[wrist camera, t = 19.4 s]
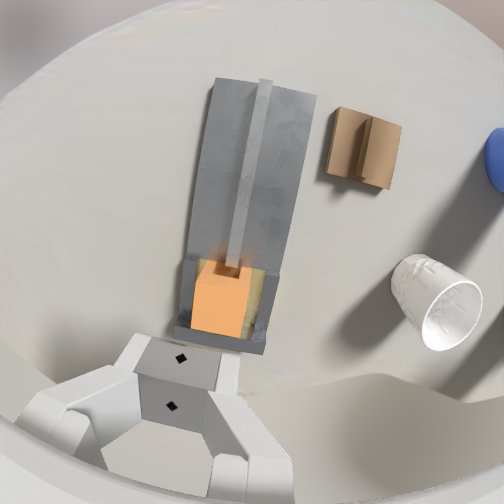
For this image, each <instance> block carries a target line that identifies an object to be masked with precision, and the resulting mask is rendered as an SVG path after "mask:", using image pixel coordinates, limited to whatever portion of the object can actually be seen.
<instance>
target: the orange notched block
mask: <svg viewBox="0 0 504 504" xmlns="http://www.w3.org/2000/svg"><path fill="white" fill-rule="evenodd" d="M216 265H217V263H214V262H209V261H206V263H205V265H204V267H203V269H202V271H201V273H200V275H199V277H198V279H197V281H196V285H195V293H194V302H193V311H192V320H191V329H196V330H201V331H206V332H211V333H216V334H221V335H226V336H231V337H237V338H240V334H241V330H242V325H243V320H244V315H245V310H246V305H247V301H248V296H249V289H250V279H251V269H246V268H241V271H240V276H239V279H236V278H231V277H226V276H221V275H215V272H216Z"/></svg>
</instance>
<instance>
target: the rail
mask: <svg viewBox="0 0 504 504" xmlns="http://www.w3.org/2000/svg"><path fill="white" fill-rule="evenodd" d="M272 84H273V81H271V80H266V79H260V80H259V83H253V82H247V81H240V80H232V79H224V78H215V83H214V87H213V92H212V97H211V102H210V107H209V112H208V117H207V122H206V127H205V132H204V138H203V144H202V149H201V155H200V161H199V167H198V173H197V179H196V186H195V192H194V199H193V206H192V213H191V221H190V228H189V236H188V244H187V253H186V257H185V258H184V261H183V271H182V281H181V291H180V303H179V315H178V318H177V320H176V322H175V324H174V333H173V338H176V339H180V340H185V341H189V342H194V343H199V344H203V345H208V346H213V347H218V348H224V349H229V350H235V351H240V352H246V353H252V354H258V355H263V352H264V349H265V345H266V331H267V327H268V323H269V319H270V315H271V311H272V307H273V303H274V299H275V295H276V291H277V287H278V282H279V278H280V275H279V272H280V268H281V264H282V259H283V255H284V251H285V246H286V242H287V238H288V233H289V229H290V224H291V220H292V215H293V211H294V206H295V202H296V197H297V192H298V188H299V183H300V178H301V173H302V168H303V164H304V159H305V154H306V149H307V144H308V139H309V134H310V129H311V123H312V118H313V113H314V108H315V102H316V97H317V95H313V94H309V93H305V92H300V91H296V90H291V89H286V88H281V87H276V86H272ZM206 261H209V262H214V263H217V265H216V272H215V275H221V276H226V277H231V278H236V279H239V276H240V271H241V268H246V269H251V279H250V289H249V296H248V301H247V305H246V310H245V315H244V320H243V325H242V330H241V334H240V338H237V337H231V336H226V335H221V334H216V333H211V332H206V331H201V330H196V329H191V320H192V311H193V302H194V293H195V285H196V281H197V279H198V277H199V275H200V273H201V271H202V269H203V267H204V265H205V263H206Z"/></svg>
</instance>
